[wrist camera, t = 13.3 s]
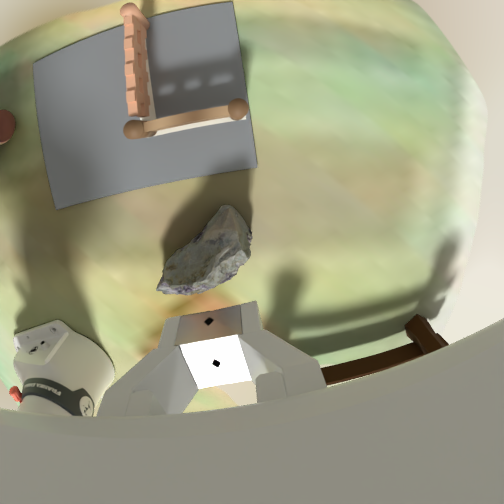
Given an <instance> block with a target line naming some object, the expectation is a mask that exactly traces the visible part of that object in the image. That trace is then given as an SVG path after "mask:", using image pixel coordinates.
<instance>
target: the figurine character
mask: <svg viewBox="0 0 504 504" xmlns="http://www.w3.org/2000/svg"><path fill="white" fill-rule="evenodd" d="M14 131H15V119H14V116H13V115H12V114H11V113H10V112H9V111H7V110H0V145H1V144H4V143H6V142H7V141H8V140H9V139H10V138H11V137H12V135H13V133H14Z"/></svg>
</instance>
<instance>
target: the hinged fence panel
mask: <svg viewBox="0 0 504 504" xmlns="http://www.w3.org/2000/svg"><path fill="white" fill-rule="evenodd" d="M120 14H121V15H122V16H123V17H124V35H125V39H124V50H125V76H126V89H127V92H126V100H127V103H128V115H129V116H131V117H134V116H137V117H140V118H142V117H147V116H150V115H149V105H150V96H149V95H148V90H147V82H149V79H148V72H146V60H147V50H146V49H145V38H147V31H146V30H148V28H149V27H150V23H149V21H148V20H147V19H146V17H145V16H144V15H143V14H142V12H141V11H140V10H139V9H138V7H137V6H136V5H135V4H134V3H127V4H125V5H123V6H122V7H121V9H120Z"/></svg>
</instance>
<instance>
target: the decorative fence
mask: <svg viewBox="0 0 504 504" xmlns="http://www.w3.org/2000/svg"><path fill="white" fill-rule="evenodd" d="M405 329H406V334H407V336H408V337H409V338H410V339H411V340H412V341H413V342H412V343H410V344H407V345H404V346H401V347H398V348H395V349H392V350H389V351H386V352H382V353H379V354H376V355H372V356H368V357H365V358H361V359H357V360H353V361H349V362H345V363H341V364H337V365H333V366H328V367H324V368H321V371H322V374H323V377H324V380H325V382H326V385H331V384H336V383H339V382H344V381H348V380H351V379H355V378H359V377H363V376H366V375H370V374H373V373H377V372H380V371H384V370H386V369H389V368H392V367H395V366H398V365H401V364H403V363H406V362H409V361H411V360H414V359H416V358H419V357H422V356H424V355H427V354H429V353H431V352H434V351H436V350H439V349H441V348H443V347H446V346H448V345H449V344H448V343H447V342H446V341H445V340H444V339H443V338H442V337H441V336H440V335H439V334H438V333H437V334H436V333H435V332H434V331H433V329H432V327H431V326H430V324H429V322H428V321H427V319H426V318H424V317H422V316H420V315H418V314H416V315H415V316H414V317H413V318H412V319H411V320H410V321H409V322H408V323H407V324H405Z"/></svg>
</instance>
